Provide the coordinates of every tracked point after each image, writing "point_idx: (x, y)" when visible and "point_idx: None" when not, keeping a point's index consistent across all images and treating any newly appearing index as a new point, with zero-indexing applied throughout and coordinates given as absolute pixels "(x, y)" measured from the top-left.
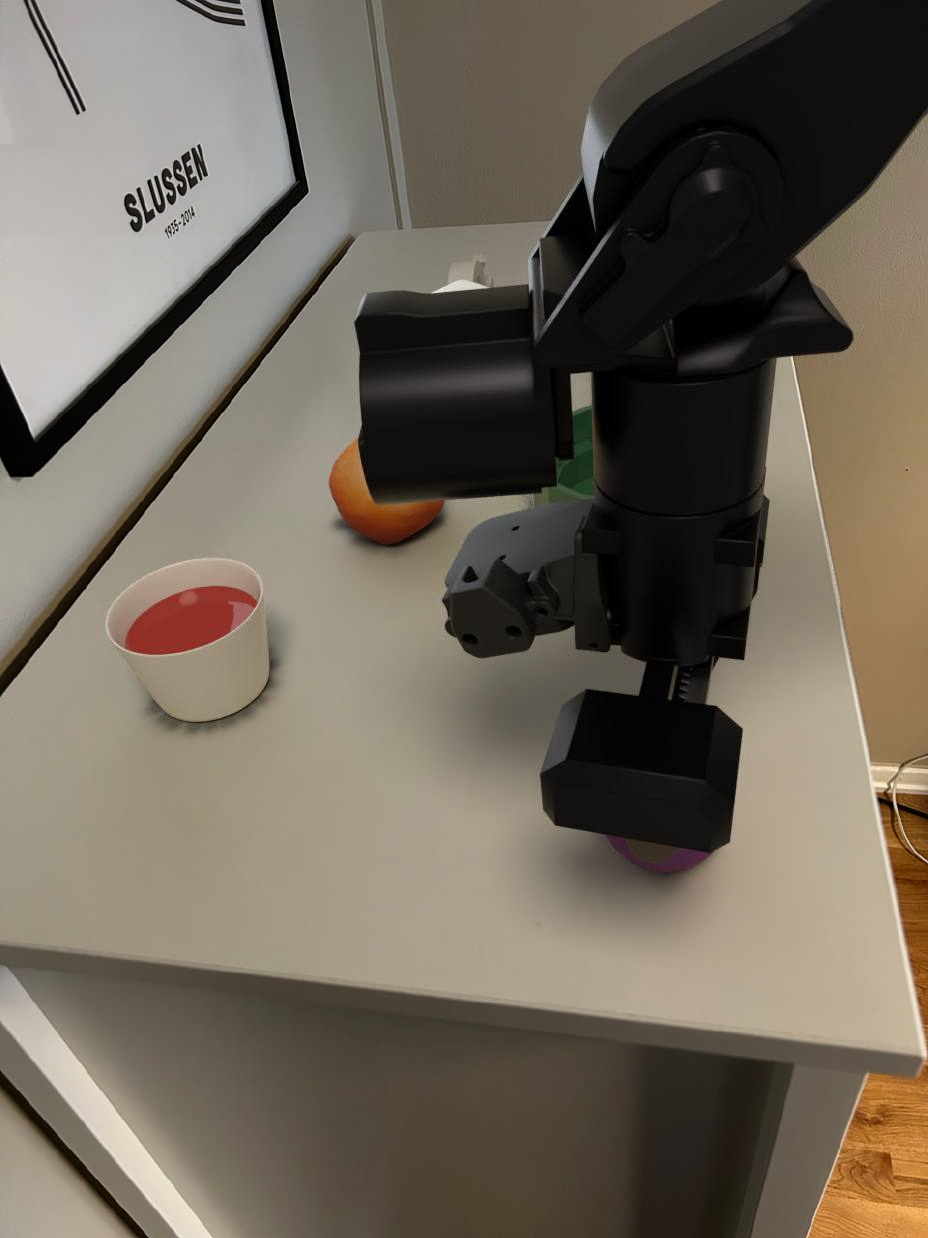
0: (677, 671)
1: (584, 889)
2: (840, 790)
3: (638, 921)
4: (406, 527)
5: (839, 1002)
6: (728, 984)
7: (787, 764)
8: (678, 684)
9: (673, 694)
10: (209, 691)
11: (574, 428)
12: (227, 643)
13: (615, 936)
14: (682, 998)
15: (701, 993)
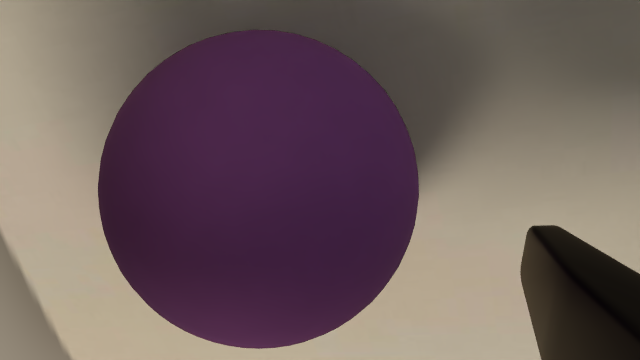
0: (584, 350)
1: (123, 2)
2: (464, 356)
3: (105, 116)
4: None
5: (113, 357)
6: (69, 250)
7: (514, 294)
8: (555, 311)
9: (541, 266)
10: None
11: None
12: None
13: (57, 84)
14: (13, 199)
15: (35, 221)
